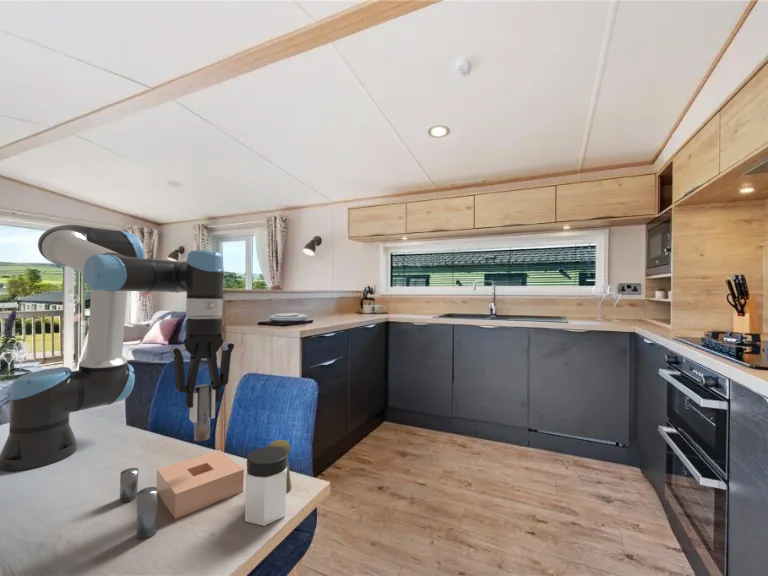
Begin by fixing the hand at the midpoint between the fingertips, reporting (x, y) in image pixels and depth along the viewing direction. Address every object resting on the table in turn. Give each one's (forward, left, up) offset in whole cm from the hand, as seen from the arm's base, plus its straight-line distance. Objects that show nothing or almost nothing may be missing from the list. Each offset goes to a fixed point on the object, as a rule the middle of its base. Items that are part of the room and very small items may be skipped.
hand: (202, 418), depth 79 cm
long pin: (0, 0, -4) cm, 4 cm away
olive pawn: (+12, +13, -17) cm, 24 cm away
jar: (+18, +7, -17) cm, 26 cm away
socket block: (0, 0, -17) cm, 17 cm away
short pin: (-8, -12, -17) cm, 22 cm away
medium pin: (+8, -12, -17) cm, 22 cm away
